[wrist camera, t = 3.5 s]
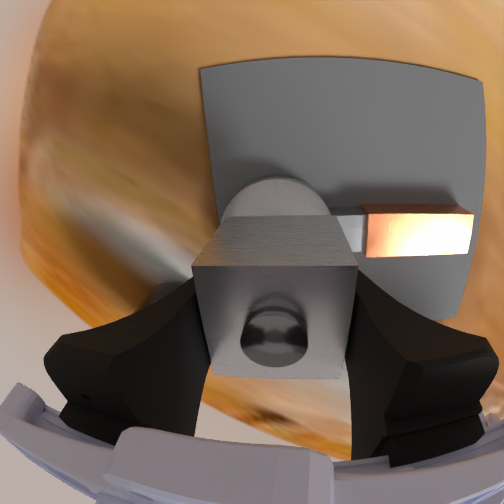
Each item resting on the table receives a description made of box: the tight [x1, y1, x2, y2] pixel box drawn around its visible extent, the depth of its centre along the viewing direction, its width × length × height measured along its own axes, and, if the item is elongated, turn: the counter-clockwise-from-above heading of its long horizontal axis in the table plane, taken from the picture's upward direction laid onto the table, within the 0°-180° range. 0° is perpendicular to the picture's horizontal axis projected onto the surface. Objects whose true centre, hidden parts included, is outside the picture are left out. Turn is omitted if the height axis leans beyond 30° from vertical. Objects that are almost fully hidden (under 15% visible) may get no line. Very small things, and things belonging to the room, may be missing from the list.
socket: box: [191, 215, 358, 379], centre depth 10 cm, size 5×5×5 cm
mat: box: [200, 57, 486, 321], centre depth 17 cm, size 20×20×1 cm
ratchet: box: [221, 174, 474, 257], centre depth 16 cm, size 7×17×4 cm, turn 95°
